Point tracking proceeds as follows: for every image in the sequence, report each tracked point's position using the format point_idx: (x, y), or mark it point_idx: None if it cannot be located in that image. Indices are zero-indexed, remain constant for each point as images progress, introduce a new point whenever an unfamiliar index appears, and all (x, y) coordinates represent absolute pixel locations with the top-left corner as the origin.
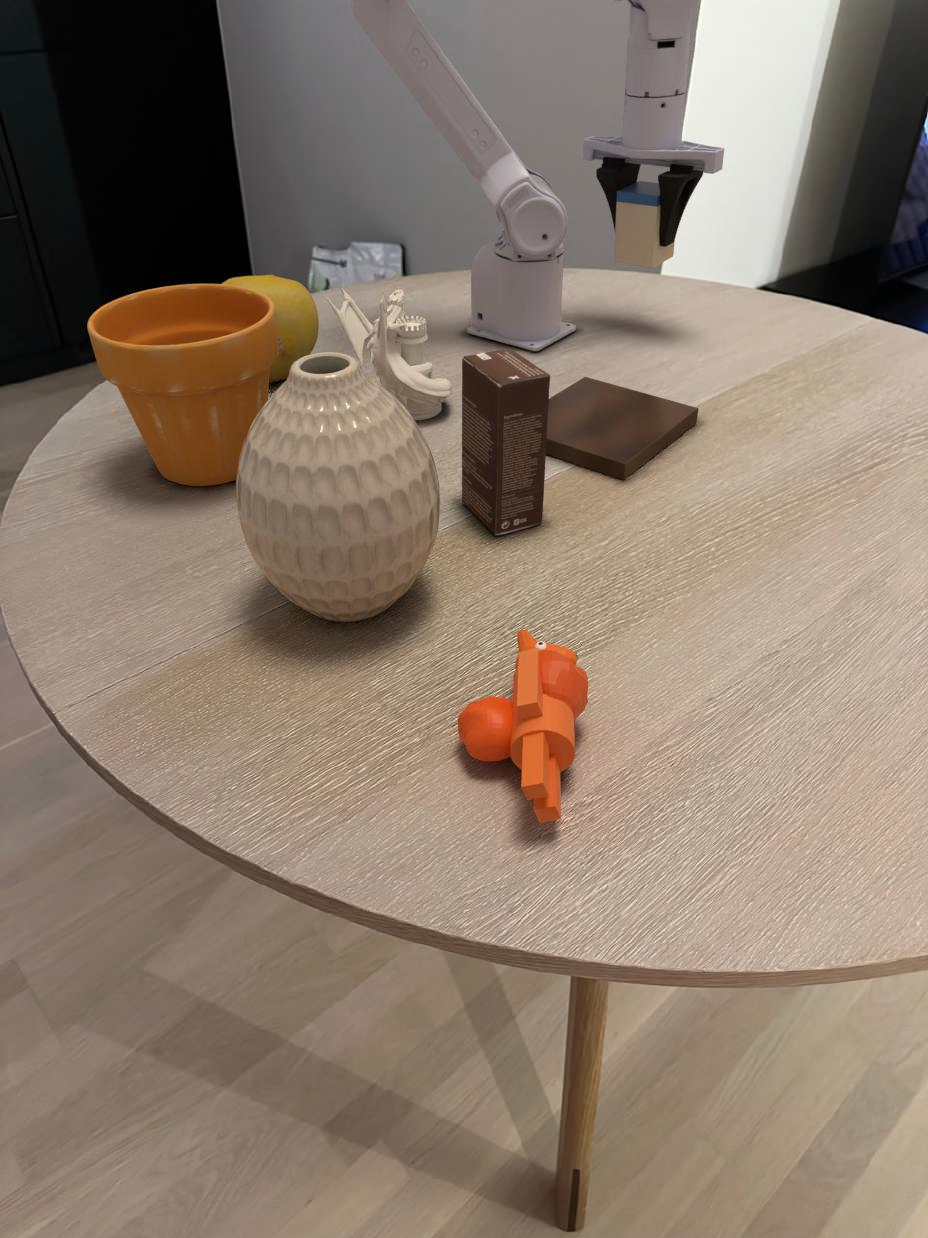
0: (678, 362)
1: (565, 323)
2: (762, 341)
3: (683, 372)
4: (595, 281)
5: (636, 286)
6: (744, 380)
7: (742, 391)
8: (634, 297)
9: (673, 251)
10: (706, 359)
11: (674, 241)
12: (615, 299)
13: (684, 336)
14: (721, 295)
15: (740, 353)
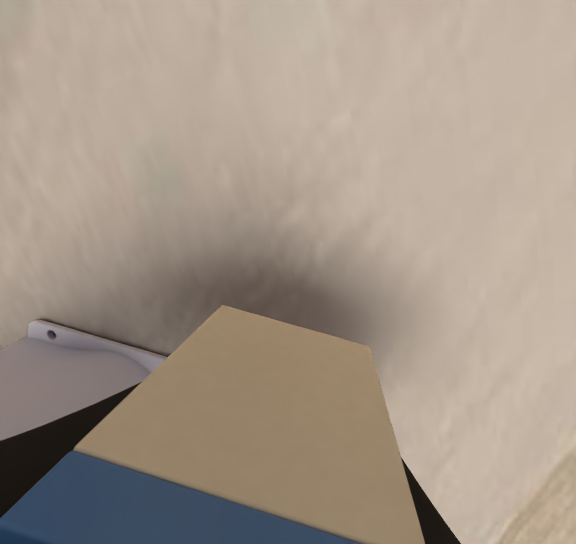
0: (407, 447)
1: (161, 361)
2: (565, 301)
3: (422, 483)
4: (110, 32)
5: (216, 29)
6: (533, 489)
7: (532, 529)
8: (236, 119)
9: (371, 355)
10: (456, 421)
11: (376, 372)
12: (199, 151)
13: (396, 324)
14: (446, 10)
15: (520, 376)
